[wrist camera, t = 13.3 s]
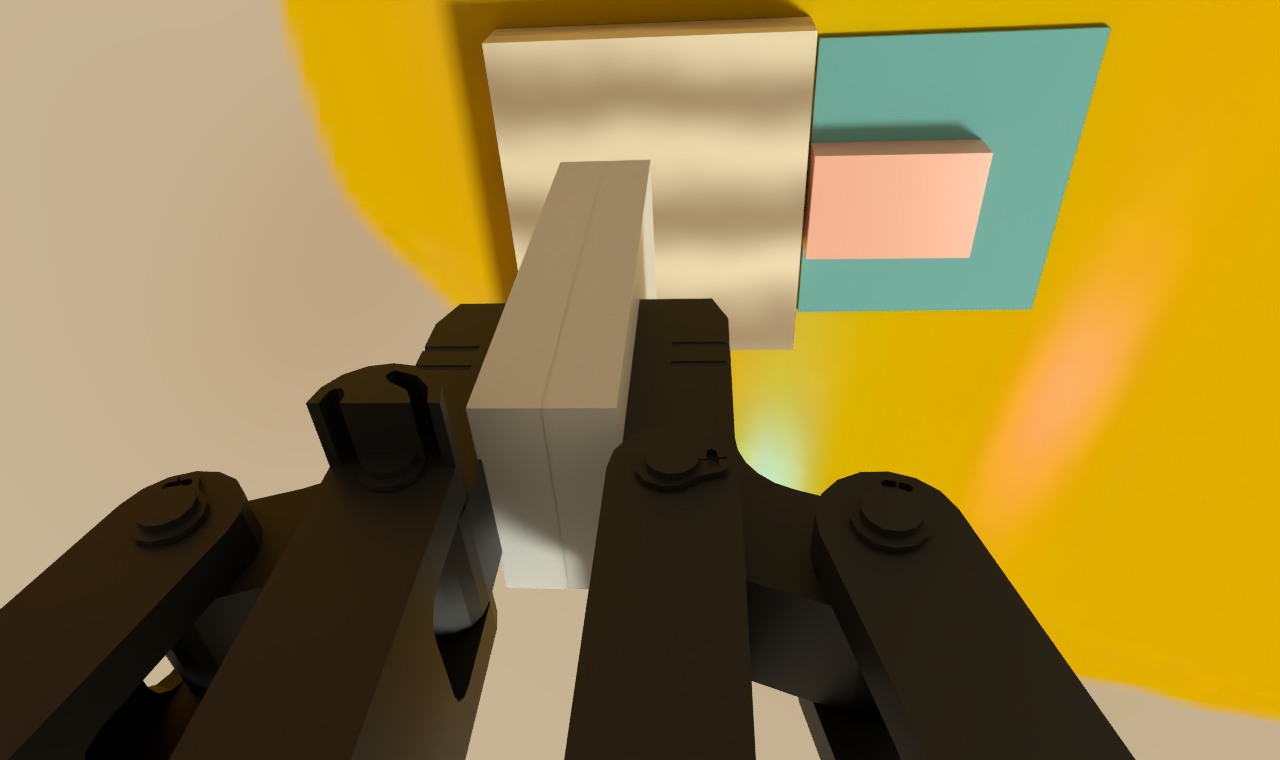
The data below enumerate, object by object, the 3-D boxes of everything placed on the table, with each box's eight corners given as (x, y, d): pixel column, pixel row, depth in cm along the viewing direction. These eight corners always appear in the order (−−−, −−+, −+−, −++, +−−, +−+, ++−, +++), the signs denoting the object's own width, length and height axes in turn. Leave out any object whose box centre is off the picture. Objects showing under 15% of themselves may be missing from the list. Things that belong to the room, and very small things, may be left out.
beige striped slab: (494, 28, 41) (481, 43, 38) (810, 16, 39) (817, 30, 37) (538, 325, 51) (530, 351, 49) (788, 322, 50) (793, 349, 48)
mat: (818, 37, 40) (819, 38, 40) (1108, 26, 39) (1111, 27, 39) (797, 309, 49) (798, 311, 49) (1029, 306, 48) (1031, 309, 48)
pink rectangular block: (802, 243, 46) (805, 259, 45) (811, 142, 43) (815, 156, 41) (959, 241, 46) (969, 257, 44) (982, 139, 42) (993, 152, 40)
